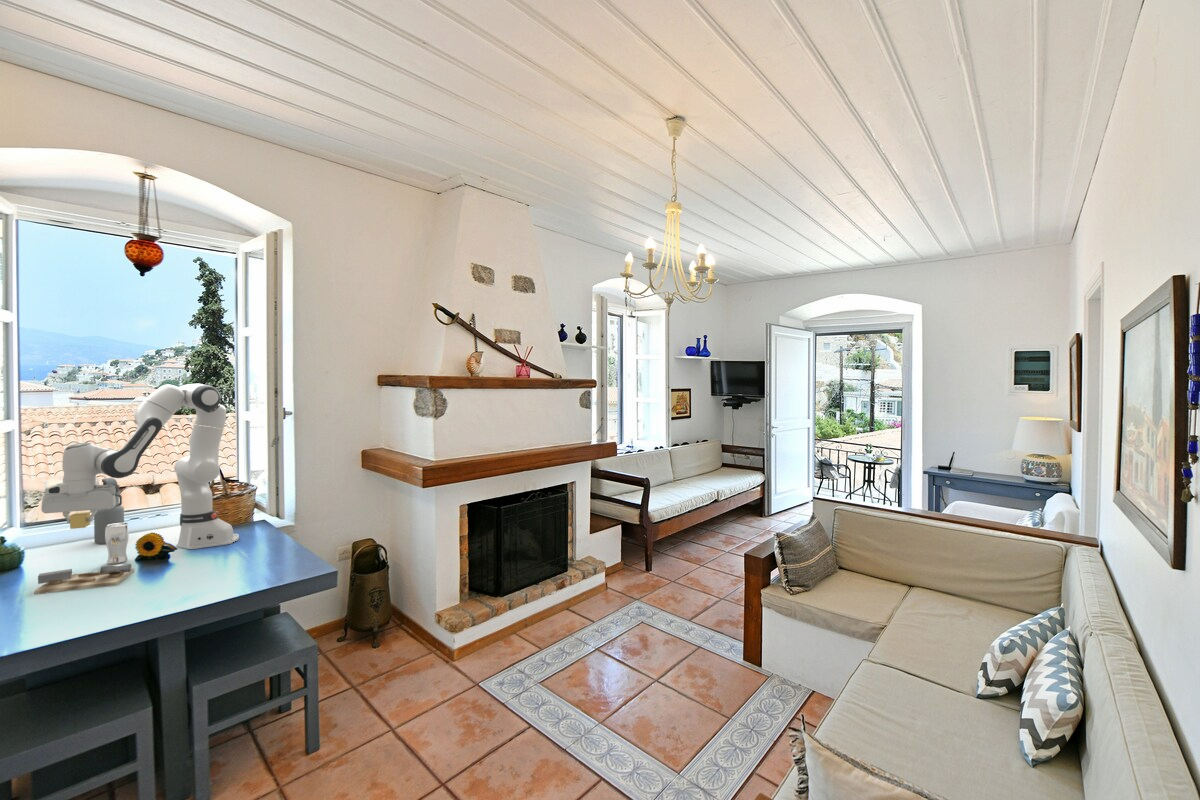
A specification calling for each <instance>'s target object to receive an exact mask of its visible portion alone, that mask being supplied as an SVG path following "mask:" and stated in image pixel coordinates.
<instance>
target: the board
mask: <svg viewBox="0 0 1200 800" xmlns="http://www.w3.org/2000/svg"><path fill="white" fill-rule="evenodd" d="M132 573H134V568H131V571H130V572H124V573H114V574H105V575H101V574H100V571H94V572H93V571H92V572H85V573H84V572H83V573H74V574H73V573H72V578H71V579H67V580H61V581H54V582H48V583H43V584H42V585H41V586H39V587H37V588H36V589H34V590H33V592H34V593H33V594H34V595H38V593H39V594H46V592H48V593H56V592H65V591H73V590H74V591H75V590H82V589H93V588H94V589H95V588H102V587H103V588H104V587H111V586H119V584H120V583H122V582H123V581H124V580H125V579H126V578H128V577H129V576H130V575H131V574H132Z"/></svg>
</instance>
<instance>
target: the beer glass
mask: <svg viewBox="0 0 1200 800" xmlns="http://www.w3.org/2000/svg"><path fill="white" fill-rule="evenodd" d="M129 531H130V530H129V523H127V522H124V523H114V524H110V525H107V526H106V530H105V541H106V544H105V545H106V548H107V549H106V550H107V554H108V555H107V560H106V564H108V565H119V564H124V563H126V562H128V556H127V548H128V542H129V537H130V535H129V534H130V532H129Z"/></svg>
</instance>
